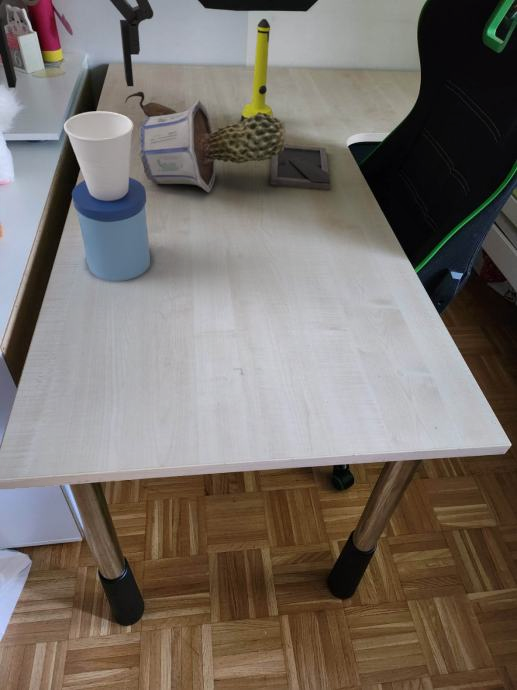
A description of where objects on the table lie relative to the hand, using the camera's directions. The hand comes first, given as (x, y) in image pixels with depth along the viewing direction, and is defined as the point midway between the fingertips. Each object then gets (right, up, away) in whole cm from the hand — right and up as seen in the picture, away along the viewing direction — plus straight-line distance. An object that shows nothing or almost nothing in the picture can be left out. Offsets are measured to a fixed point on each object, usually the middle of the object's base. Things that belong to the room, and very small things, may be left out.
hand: (72, 83), depth 63 cm
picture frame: (+32, +10, +61) cm, 69 cm away
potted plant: (+12, +4, +52) cm, 54 cm away
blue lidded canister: (-3, -17, +31) cm, 35 cm away
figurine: (-4, +24, +71) cm, 75 cm away
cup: (-2, -7, +21) cm, 22 cm away
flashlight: (+22, +27, +76) cm, 84 cm away
